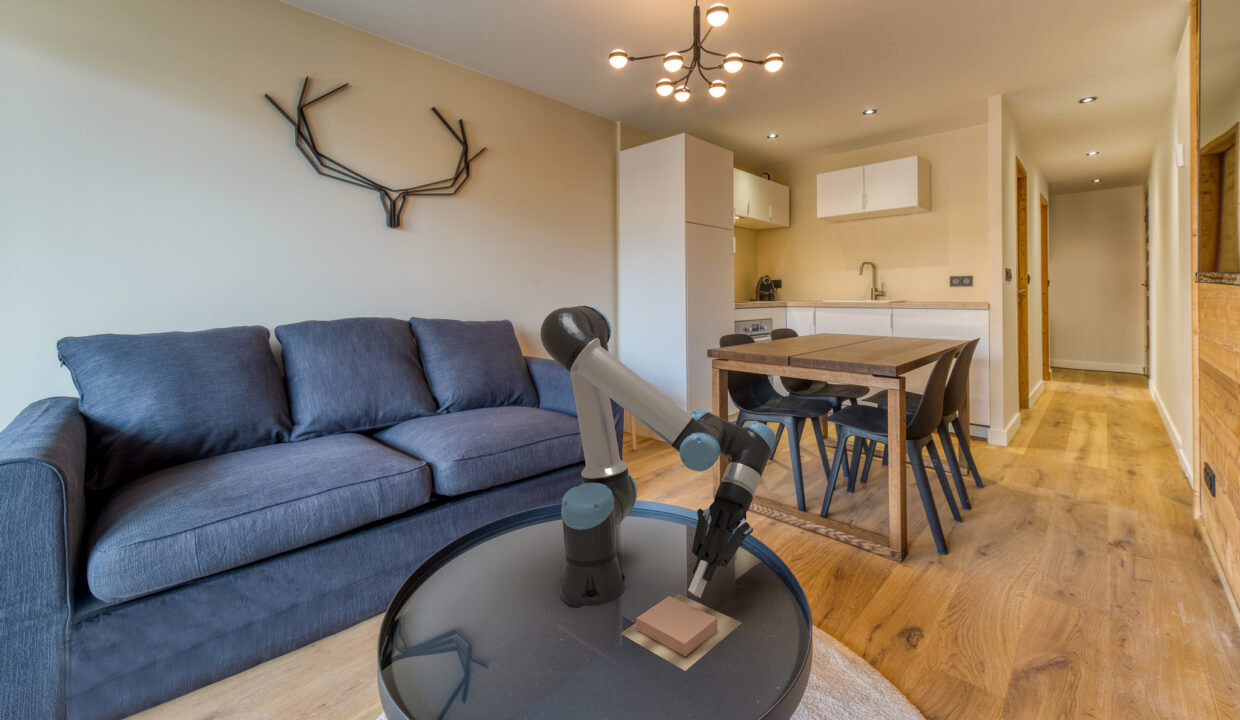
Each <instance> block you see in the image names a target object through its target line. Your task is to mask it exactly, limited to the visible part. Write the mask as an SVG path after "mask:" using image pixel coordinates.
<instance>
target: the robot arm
mask: <svg viewBox="0 0 1240 720" xmlns="http://www.w3.org/2000/svg"><path fill="white" fill-rule="evenodd" d="M539 335H540V341H541V343H542V344H541V345H542V347H543V348H544V349H545V351H546V353H547V354H548V355H549V356H550V357H551V358H552V359H554V360H555V362H557V363H558V364H559V365H560V366H561V367H562V368H564V369H565V370H566V371H568V372H569V374H570V379H571V386H572V392H573V397H574V402H575V407H576V408H575V410H576V413H577V414H576V416H577V420H578V426H579V431H580V432H579V433H580V437H581V438H580V439H581V443H582V450H583V456H584V461H585V467H584V468H583V470H582V471H581V473H580V474H581V480H582V481H581V482H582V484H579V485H578V486H576V485H575V486H573V487H571V488H570V489H568V490H567V492H565V494H564V495H563V497H562V499H561V511H560V514H561V521H562V531H563V545H564V556H565V557H564V558H565V563H564V566H563V572H562V577H561V579H560V582H559V593H560V594H559V595H560V598H561V600H562V601H563V602H564V603H565V604H567V605H568V606H571V607H573V608H577V609H579V608H582V607H583V606H586V607H587V606H589V607H590V606H591V607H592V606H598V605H604V604H608V603H610V602H613V601H614V600H616V599H618V598H619V597H621V595H622V594H624V592H625V590H626V588H627V578H626V575H625V573H624V571H623V567H622V565H621V563H620V560H619V558H618V554H617V541H616V540H617V539H616V529H618V527H619V526H620V524H621V523H622V522H623V521H624V520H625V519H626V517H627V516H628V515H629V514H630V513H631V511H632V510H633V508H634V505H635V504H636V501H637V497H638V488H637V483H636V481H635V478H634V477H633V475H630V473H629V469H628V465H627V463H625V462H624V461H623V460H621V458H620V452H619V451H620V450H619V446H618V445H619V444H618V440H617V439H618V438H617V432H616V428H615V426H616V425H615V421H614V415H613V410H612V402H611V400H612V401H614V402H615V403H616V404H618V405H619V406H620V407H621V408H622V409H623V410H625V412H628V413H629V414H630V415H631V416H633V417H634V418H635V419H637V421H639V422H641V423H642V424H643V425H644V426H645V427H647V428H648V429H649V430H650V431H652V432H653V433H654V434H656V436H657V437H659V438H660V439H661V440H664V442H666V443H667V444H668V445H669V446H671V447H672V448H673V449H674V450H675V451H677V452H678V453H679V458H680V460H681V462H682V463H683V465H684V466H685V467H686V468H687V469H689V470H691V471H694V472H704V471H708V470H709V469H711V468H712V467H713V466H714V465H715V463H716V462H717V461H718V460H719V457H720V455H722V456H724V457H727V458H730V460H729V462H728V465H727V467H726V469H725V471H724V473H723V475H722V478H721V481H722V482H720V483H719V485H718V487H717V490H716V493H715V494H714V501H713V502H712V503H711V504H710V505H709V507H708V508H707V509H702V508H698V509H697V510H696V511H697V519H698V520H697V524H696V529H695V533H694V538H693V543H692V548H691V553H692V554H694V555H695V557H696V558H697V560H696V562H695V565H694V567H693V570H692V573H691V574H692V575H693V578H692V580H691V583H690V585H689V587H688V592H689V593H691V594H692V595H693V596H695V597H697V598H699V599H701V597H702V595H703V593H704V590H705V587H706V585H707V582H709V583H710V582H711V581H712V580H713V577H714V575H715V572H716V570H717V568H718V567H723V568H726V567H727V566H728V565H729V564H730V562H731V560H732V559H733V557H734V556H735V555H736V552H737V551H738V549H739V548H740V547H741V545H742V543H743V542H744V541H745V539H746V538H747V537H748V536H749V535H751V534H752V533H753V532H754V528H753V527H752V526H751V524H749V523H748V521H747V512H749V510H750V507H751V505H752V502H753V500H754V496H753V495H755V493H756V491H757V488H758V487H759V483H760V482H761V478H762V476H763V474H764V472H765V468H766V466H767V464H768V462H769V459H770V457H771V453H772V452H773V447H774V446H775V442H776V438H777V437H776V434H775V431H774V430H773V429H772V428H771V427H769V425H766V424H765V423H762V422H757V421H756V420H755V421H754V420H753V421H752V420H751V421H747V422H746V423H745V424H744V426H740V425H738V424H736V423H733V422H731V421H728V420H726V419H724V418H722V417H720V416H718V415H716V414H713V413H712V412H710V411H706V410H703V409H700V408H695V409H694V410H692V412H691V414H689V413H688V412H687V411H685V410H684V409H683V408H681V406H679V405H678V404H676V403H675V402H674V401H673V400H671V398H668V397H667V396H666V395H665V394H664V393H662V392H661V391H660V390H658V389H656V387H654V386H653V385H652V384H650V382H648V381H647V380H646V379H644V378H642V376H640V375H639V374H638V373H637V372H635V371H633V370H632V369H631V368H629V367H628V366H627V365H626V364H625V363H623V362H622V361H621V360H620V359H618V358H617V357H615V356H614V355H613V354H612V353H610V352H609V345H608V344H609V341H610V339H611V336H612V327H611V323H610V321H609V318H608V317H607V316H606V314H605V313H604V312H603V311H601V310H600V309H598V308H596V307H594V306H589V305H578V306H571V307H569V306H568V307H560V308H557V309H555V310H553V311H551V312H550V313H549V314H548V315H547V316H546V317H545V318H544V319H543V322H542V325H541V327H540V334H539ZM735 529H736V530H735Z"/></svg>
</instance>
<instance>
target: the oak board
mask: <svg viewBox="0 0 1240 720" xmlns="http://www.w3.org/2000/svg"><path fill="white" fill-rule="evenodd" d="M673 598H675V599H677V600H679V601H681V602H684V603H686V604H688V605H690V606H692V607H694V608H696V609H699V610H701V611H703V612H705V613H707V614H709V615H711V616H714V617H716V618H717V625H718V630H717V631H716V632H715V633H714V634H713V635H711V636H710V637H709V638H708V639H706V640H705V641H704V642H703V643H701V644H700V645H699V646H698V647H697V648H695V649H694V650H693V651H692V652H690V653H689V654H688V655H687V656H686V657H685V656H683V655H681V654H680V653H678V652H676V651H674V650H672V649H671V648H669V647H667V646H665V645H663V644H662V643H660V642H658V641H656V640H654V639H653V638H651V637H649V636H647V635H645V634H644V633H642V632H640V631H638V630H637V622H635V623H633V624H632V625H630V627H628V628H627V629H625V630H623V631H622V632H621V633H620V635H622V636H624V637H626V638H627V639H629V640H631V641H632V642H634V643H636V644H637V645H639V646H641V647H643V648H644V649H646V650H648V651H649V652H652V653H653V654H654V655H656V656H659V657H660V658H662V659H663V660H665V661H667V662H669V663H670V664H672V665H673V666H675V667H678V668H679V669H681V670H683V671H684V672H687V670H689V669H690V668H691V667H692V666H693V665H694V664H695V663H697V662H698V661H699V660H701V658H703V657H704V656H705V655H707V653H708V652H709V651H711V650H713V648H715V647H716V646H717V645H718V644H719V643H720V642H721V641H722V640H724V639H725V638H727V636H728V635H730V634H731V633H732V632H733V631H735V630H736V629H737V628H738V627H739V626H741V624H743V622H741V621H739V620H737V619H735V618H732V617H730V616H729V615H726V614H724V613H721V612H719V611H717V610H715V609H713V608H710V607H708V606H706V605H704V604H702V603H700V602H698V601H696V600H693V599H691V598H688V597H686V596H684V595H682V594H677V595H675V596H674V597H673Z"/></svg>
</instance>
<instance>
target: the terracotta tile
mask: <svg viewBox="0 0 1240 720" xmlns="http://www.w3.org/2000/svg"><path fill="white" fill-rule="evenodd" d="M635 619H636V623H637V630H638V631H640V632H642V633H644V634H645V635H647V636H649V637H651V638H653V639H654V640H656V641H658V642H660V643H662V644H663V645H665V646H667V647H669V648H671V649H672V650H674V651H676V652H678V653H680V654H681V655H683V656H685V657H686V656H687V655H688V654H689V653H690V652H692V651H693V650H694V649H695V648H697V647H698V646H699V645H700V644H701V643H703V642H704V641H705V640H706V639H708V638H709V637H710V636H711V635H713V634H714V633H715V632H716V631H717V630H718V625H717V618H716V617H714V616H711V615H709V614H707V613H705V612H703V611H701V610H699V609H696V608H694V607H692V606H690V605H688V604H686V603H684V602H681V601H679V600H677V599H675V598H674V597H673V596H671V595H669V596H667V597H665V598H664V599H663V600H660V602H658V603H657V604H655V605H654V606H652V607H650V608H649V609H647V610H646V611H645V612H643V613H642V614H640V615H639V616H637V617H636V618H635Z"/></svg>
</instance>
